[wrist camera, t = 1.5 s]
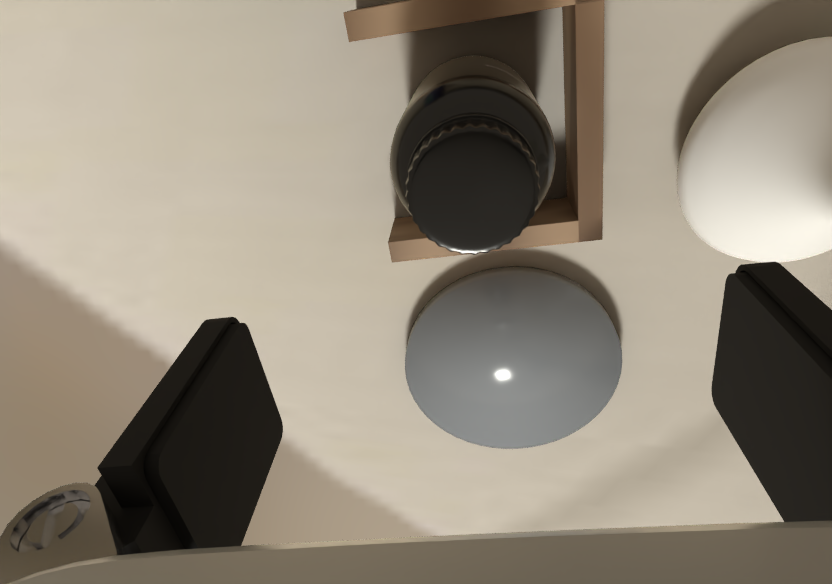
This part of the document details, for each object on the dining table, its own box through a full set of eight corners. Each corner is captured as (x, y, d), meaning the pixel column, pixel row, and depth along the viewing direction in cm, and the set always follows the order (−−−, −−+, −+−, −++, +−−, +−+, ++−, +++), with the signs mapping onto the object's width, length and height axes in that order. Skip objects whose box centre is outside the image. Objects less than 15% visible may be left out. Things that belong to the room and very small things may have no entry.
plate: (619, 254, 33) (625, 263, 32) (615, 430, 40) (619, 442, 39) (390, 279, 35) (387, 288, 34) (422, 442, 42) (421, 454, 41)
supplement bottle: (539, 49, 28) (586, 91, 17) (530, 181, 31) (565, 282, 21) (403, 54, 28) (370, 97, 18) (409, 183, 32) (384, 282, 21)
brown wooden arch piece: (587, -32, 26) (604, -33, 23) (588, 214, 32) (602, 239, 29) (356, 8, 28) (343, 12, 25) (398, 236, 33) (392, 262, 30)
